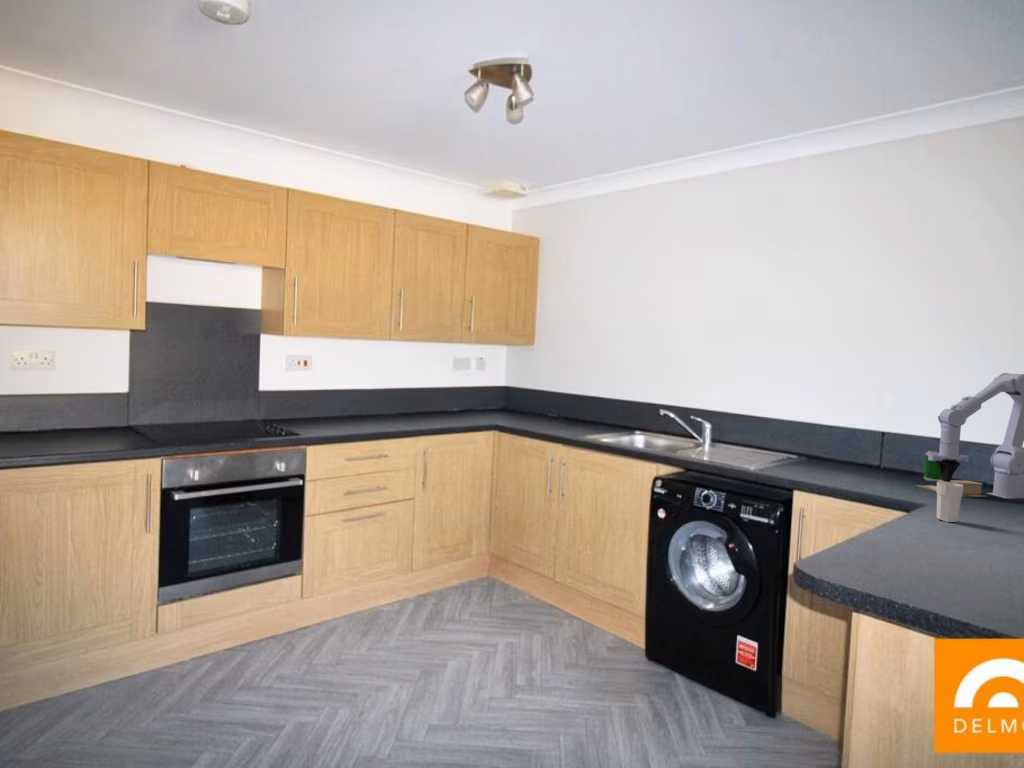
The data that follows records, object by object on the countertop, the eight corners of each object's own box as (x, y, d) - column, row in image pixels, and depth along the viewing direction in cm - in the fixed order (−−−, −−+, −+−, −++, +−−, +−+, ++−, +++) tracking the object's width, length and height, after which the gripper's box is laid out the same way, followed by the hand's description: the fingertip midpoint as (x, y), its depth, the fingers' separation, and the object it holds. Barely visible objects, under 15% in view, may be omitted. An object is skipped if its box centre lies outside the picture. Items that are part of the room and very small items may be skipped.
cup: (948, 524, 188) (951, 486, 188) (928, 518, 195) (931, 481, 194) (966, 523, 190) (969, 486, 190) (945, 517, 197) (948, 481, 196)
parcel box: (966, 491, 237) (967, 481, 237) (980, 495, 231) (981, 485, 231) (937, 490, 235) (937, 481, 235) (950, 494, 229) (951, 484, 229)
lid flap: (967, 481, 237) (968, 480, 237) (982, 484, 230) (982, 483, 230) (937, 481, 235) (937, 479, 235) (951, 484, 228) (951, 483, 228)
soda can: (942, 484, 251) (945, 453, 250) (920, 481, 256) (923, 450, 256) (948, 482, 256) (951, 452, 255) (927, 479, 261) (929, 449, 261)
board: (948, 487, 246) (948, 485, 246) (988, 498, 229) (988, 496, 229) (915, 487, 244) (915, 485, 244) (953, 497, 227) (953, 496, 227)
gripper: (958, 441, 236) (955, 479, 237) (922, 440, 234) (919, 478, 235) (974, 445, 229) (971, 483, 230) (938, 444, 227) (935, 482, 228)
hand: (946, 481), depth 232 cm, fingers closed
